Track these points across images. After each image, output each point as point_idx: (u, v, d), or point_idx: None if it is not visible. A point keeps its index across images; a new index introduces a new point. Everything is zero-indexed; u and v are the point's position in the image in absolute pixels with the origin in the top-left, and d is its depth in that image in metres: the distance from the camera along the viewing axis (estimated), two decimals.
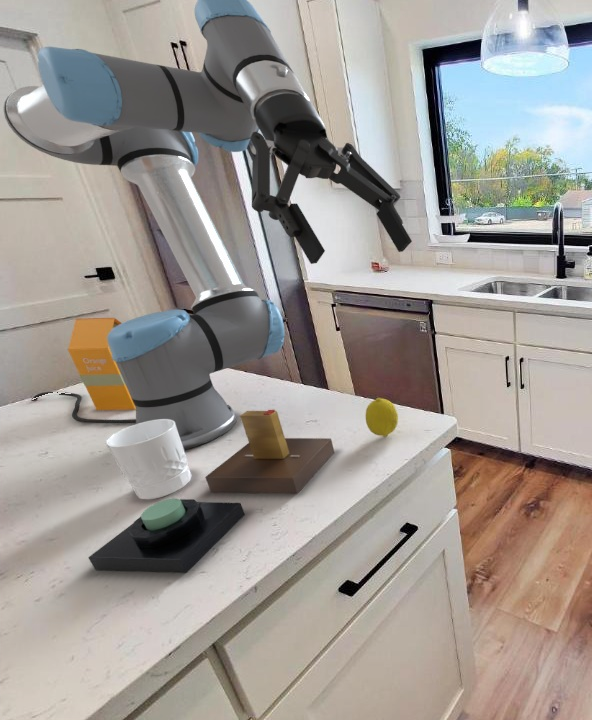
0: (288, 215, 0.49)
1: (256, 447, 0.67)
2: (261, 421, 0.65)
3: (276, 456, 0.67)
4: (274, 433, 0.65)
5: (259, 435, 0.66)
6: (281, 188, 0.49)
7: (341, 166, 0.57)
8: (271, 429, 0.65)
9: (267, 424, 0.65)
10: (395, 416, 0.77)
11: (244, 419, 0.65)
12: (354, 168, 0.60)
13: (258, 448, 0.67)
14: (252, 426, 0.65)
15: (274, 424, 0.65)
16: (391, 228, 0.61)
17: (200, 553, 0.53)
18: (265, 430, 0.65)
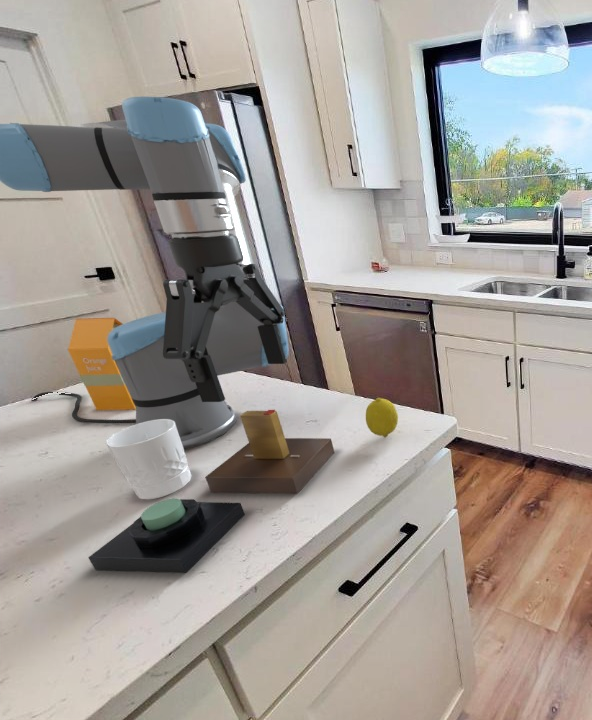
0: (199, 367, 0.54)
1: (256, 447, 0.67)
2: (261, 421, 0.65)
3: (276, 456, 0.67)
4: (274, 433, 0.65)
5: (259, 435, 0.66)
6: (199, 341, 0.53)
7: (246, 296, 0.61)
8: (271, 429, 0.65)
9: (267, 424, 0.65)
10: (395, 416, 0.77)
11: (244, 419, 0.65)
12: (250, 284, 0.64)
13: (258, 448, 0.67)
14: (252, 426, 0.65)
15: (274, 424, 0.65)
16: (269, 345, 0.68)
17: (200, 553, 0.53)
18: (265, 430, 0.65)
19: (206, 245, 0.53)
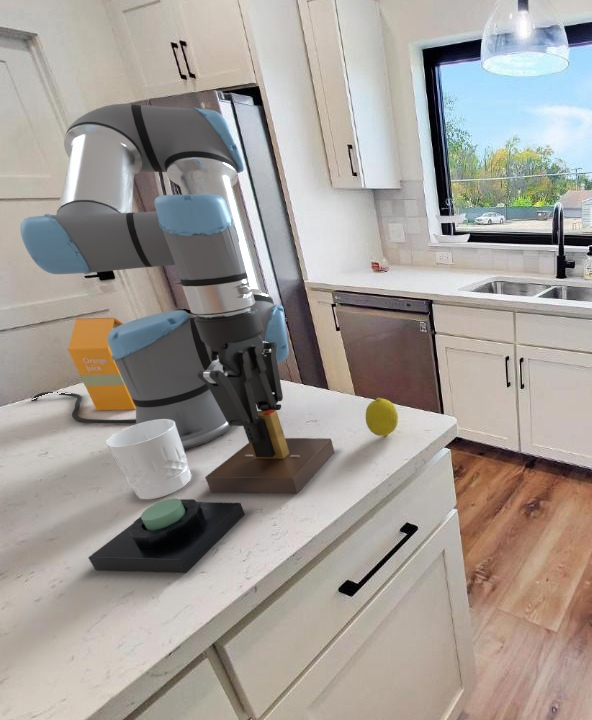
0: (256, 430, 0.64)
1: None
2: None
3: (276, 456, 0.67)
4: (274, 433, 0.65)
5: None
6: (251, 411, 0.62)
7: (258, 369, 0.63)
8: (271, 429, 0.65)
9: (267, 424, 0.65)
10: (395, 416, 0.77)
11: None
12: (263, 360, 0.67)
13: None
14: None
15: (274, 424, 0.65)
16: None
17: (200, 553, 0.53)
18: None
19: (230, 324, 0.57)
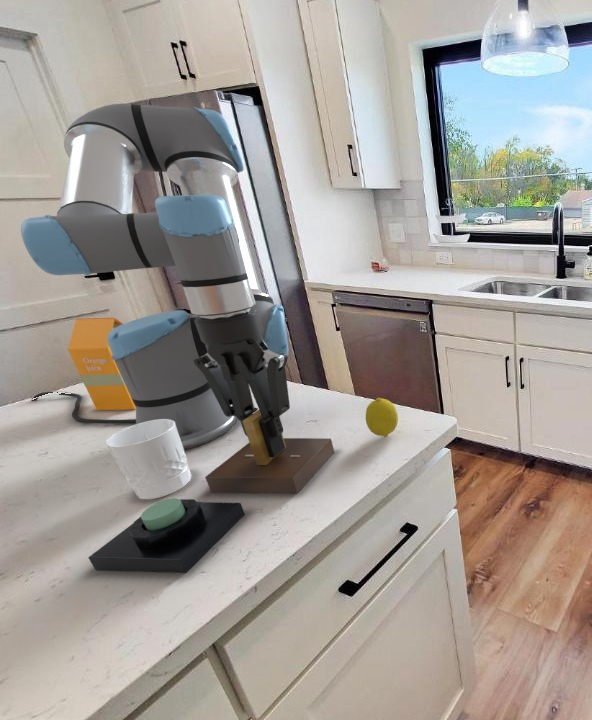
0: None
1: (267, 450, 0.66)
2: None
3: None
4: None
5: None
6: None
7: None
8: None
9: None
10: (395, 416, 0.77)
11: (255, 423, 0.64)
12: (217, 372, 0.63)
13: None
14: None
15: None
16: None
17: (200, 553, 0.53)
18: None
19: None
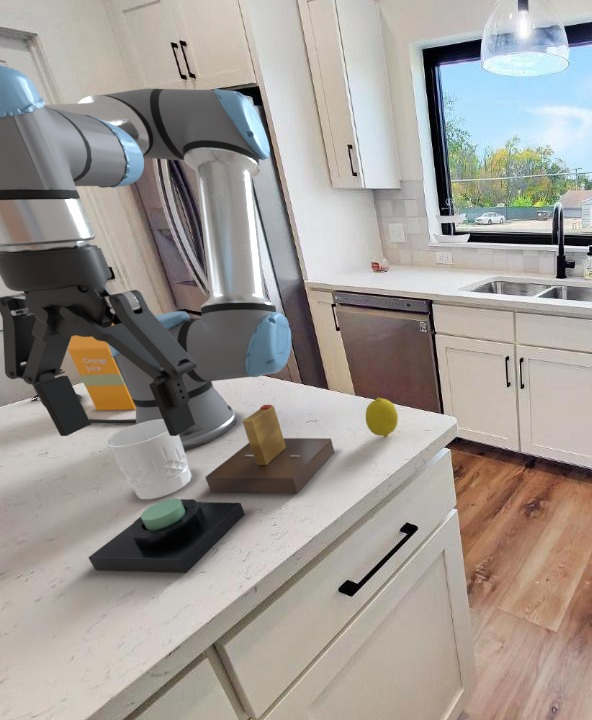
0: None
1: (267, 450, 0.66)
2: (268, 416, 0.66)
3: (281, 448, 0.69)
4: (277, 423, 0.68)
5: (267, 434, 0.66)
6: None
7: None
8: (275, 421, 0.68)
9: (272, 416, 0.67)
10: (395, 416, 0.77)
11: (255, 423, 0.64)
12: (26, 323, 0.45)
13: (268, 450, 0.66)
14: (262, 427, 0.65)
15: (275, 414, 0.68)
16: (65, 406, 0.49)
17: (200, 553, 0.53)
18: (271, 424, 0.67)
19: (102, 254, 0.44)
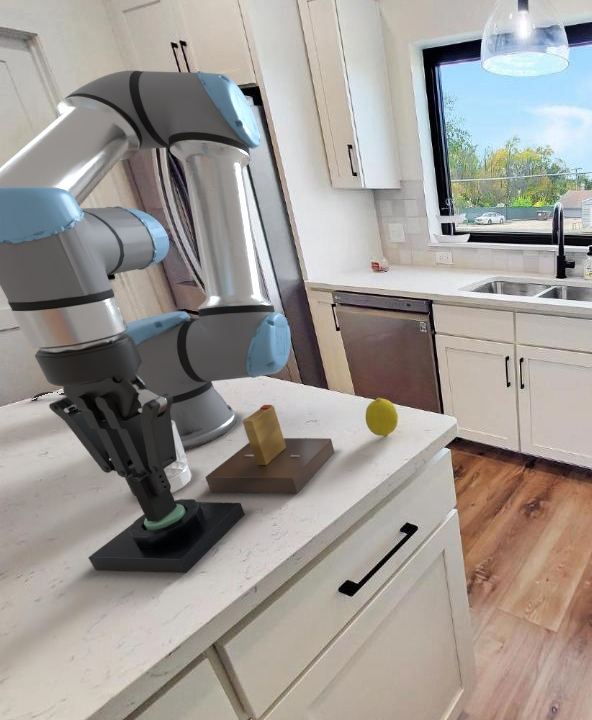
0: None
1: (267, 450, 0.66)
2: (268, 416, 0.66)
3: (281, 448, 0.69)
4: (277, 423, 0.68)
5: (267, 434, 0.66)
6: None
7: None
8: (275, 421, 0.68)
9: (272, 416, 0.67)
10: (395, 416, 0.77)
11: (255, 423, 0.64)
12: (85, 418, 0.49)
13: (268, 450, 0.66)
14: (262, 427, 0.65)
15: (275, 414, 0.68)
16: None
17: (200, 553, 0.53)
18: (271, 424, 0.67)
19: (134, 343, 0.48)
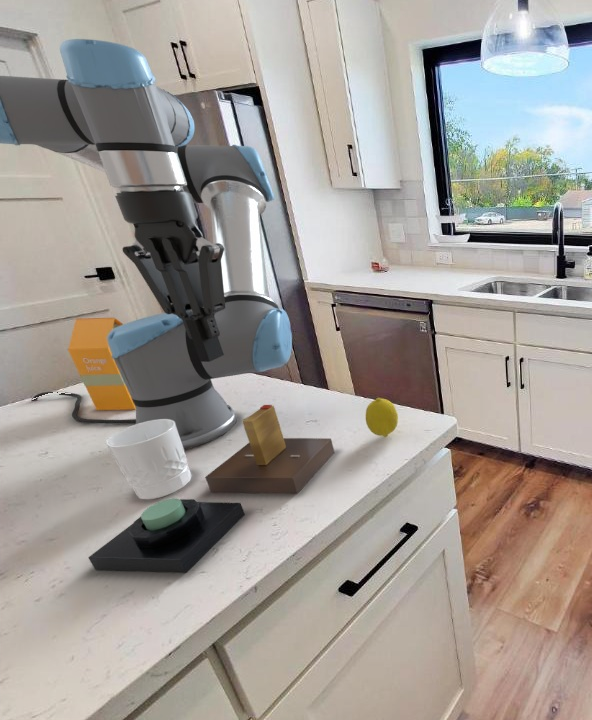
0: None
1: (267, 450, 0.66)
2: (268, 416, 0.66)
3: (281, 448, 0.69)
4: (277, 423, 0.68)
5: (267, 434, 0.66)
6: None
7: None
8: (275, 421, 0.68)
9: (272, 416, 0.67)
10: (395, 416, 0.77)
11: (255, 423, 0.64)
12: (151, 263, 0.58)
13: (268, 450, 0.66)
14: (262, 427, 0.65)
15: (275, 414, 0.68)
16: None
17: (200, 553, 0.53)
18: (271, 424, 0.67)
19: (192, 198, 0.56)
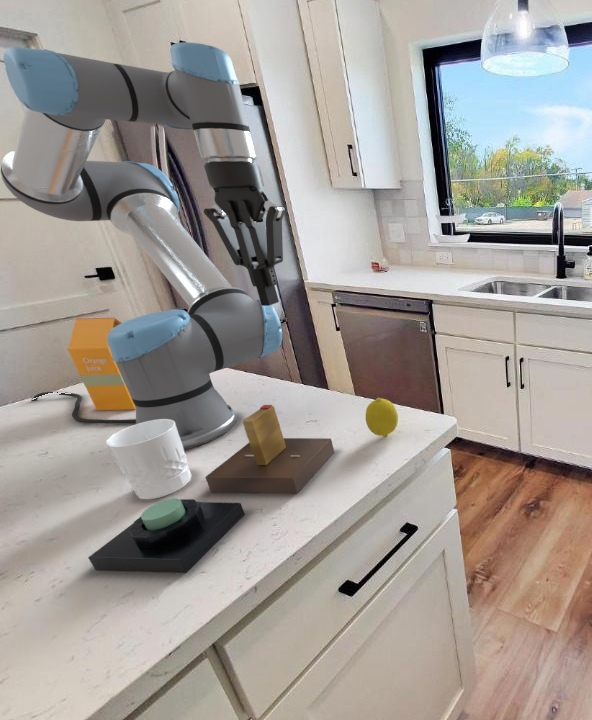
0: None
1: (267, 450, 0.66)
2: (268, 416, 0.66)
3: (281, 448, 0.69)
4: (277, 423, 0.68)
5: (267, 434, 0.66)
6: None
7: None
8: (275, 421, 0.68)
9: (272, 416, 0.67)
10: (395, 416, 0.77)
11: (255, 423, 0.64)
12: (225, 223, 0.71)
13: (268, 450, 0.66)
14: (262, 427, 0.65)
15: (275, 414, 0.68)
16: None
17: (200, 553, 0.53)
18: (271, 424, 0.67)
19: None
